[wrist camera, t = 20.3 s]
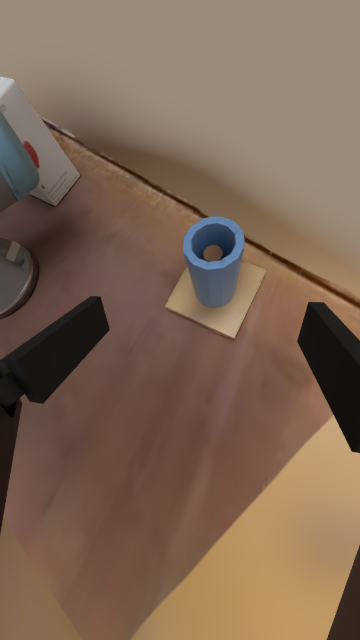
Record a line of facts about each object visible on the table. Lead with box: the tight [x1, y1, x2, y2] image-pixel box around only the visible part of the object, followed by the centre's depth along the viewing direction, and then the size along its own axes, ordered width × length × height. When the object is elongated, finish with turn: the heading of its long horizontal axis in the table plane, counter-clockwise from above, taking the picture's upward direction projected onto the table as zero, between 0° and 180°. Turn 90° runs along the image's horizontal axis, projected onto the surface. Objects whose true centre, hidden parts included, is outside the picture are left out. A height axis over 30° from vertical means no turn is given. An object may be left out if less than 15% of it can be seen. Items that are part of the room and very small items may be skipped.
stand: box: [165, 245, 267, 340], centre depth 26 cm, size 11×11×11 cm
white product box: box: [0, 77, 80, 206], centre depth 37 cm, size 9×9×15 cm
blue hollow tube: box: [183, 216, 245, 308], centre depth 24 cm, size 6×6×11 cm
